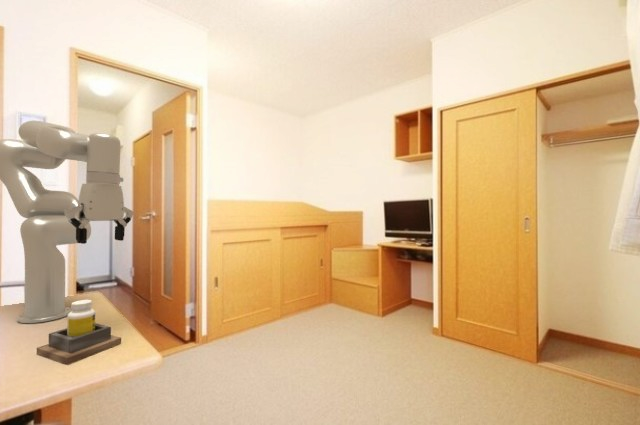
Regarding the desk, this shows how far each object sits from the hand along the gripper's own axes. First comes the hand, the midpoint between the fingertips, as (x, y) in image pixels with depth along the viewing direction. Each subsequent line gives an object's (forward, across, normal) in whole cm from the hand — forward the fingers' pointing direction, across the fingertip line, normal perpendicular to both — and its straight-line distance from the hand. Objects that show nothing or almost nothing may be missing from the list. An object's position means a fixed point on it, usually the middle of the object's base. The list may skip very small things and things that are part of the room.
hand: (101, 241), depth 86 cm
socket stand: (+25, +9, +8) cm, 27 cm away
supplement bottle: (+23, +8, +8) cm, 26 cm away
